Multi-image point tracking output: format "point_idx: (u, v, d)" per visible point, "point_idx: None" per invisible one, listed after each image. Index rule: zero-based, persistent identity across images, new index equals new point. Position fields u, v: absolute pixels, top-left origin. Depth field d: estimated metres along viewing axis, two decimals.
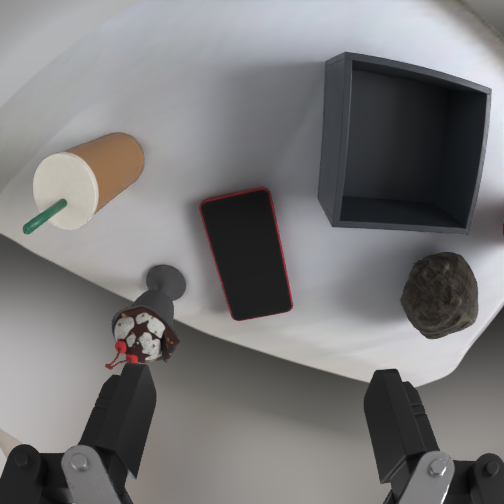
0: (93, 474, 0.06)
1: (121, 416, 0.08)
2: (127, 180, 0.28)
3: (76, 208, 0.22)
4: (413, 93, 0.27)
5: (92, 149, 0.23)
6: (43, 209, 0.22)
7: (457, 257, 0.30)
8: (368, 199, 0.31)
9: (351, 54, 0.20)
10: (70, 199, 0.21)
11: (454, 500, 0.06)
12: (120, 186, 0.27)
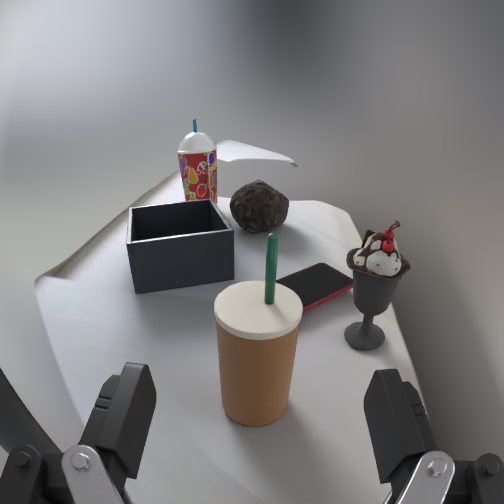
0: (93, 474, 0.06)
1: (121, 416, 0.08)
2: None
3: None
4: None
5: None
6: (288, 319, 0.21)
7: (230, 206, 0.58)
8: None
9: (127, 242, 0.39)
10: (262, 296, 0.23)
11: (454, 500, 0.06)
12: None
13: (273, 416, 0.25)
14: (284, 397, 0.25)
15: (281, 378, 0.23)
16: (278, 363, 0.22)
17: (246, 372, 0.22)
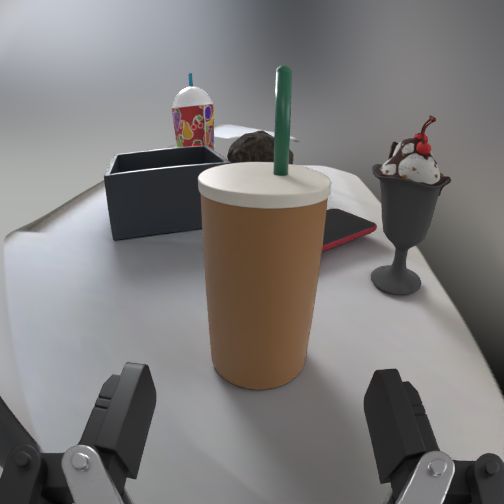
0: (93, 474, 0.06)
1: (121, 416, 0.08)
2: None
3: None
4: None
5: None
6: (311, 186, 0.13)
7: (228, 157, 0.51)
8: None
9: (105, 174, 0.32)
10: (270, 170, 0.16)
11: (454, 500, 0.06)
12: None
13: (287, 372, 0.17)
14: (304, 340, 0.17)
15: (301, 298, 0.15)
16: (298, 264, 0.14)
17: (246, 280, 0.14)
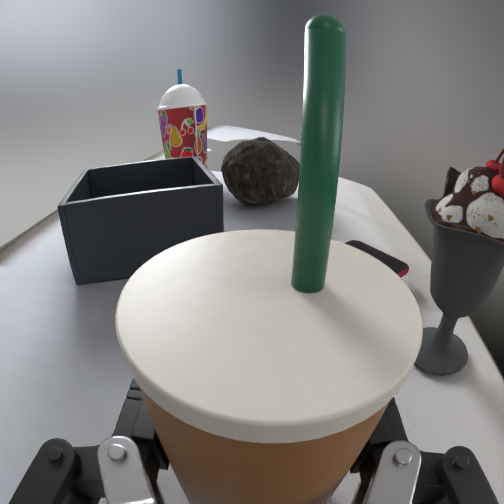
0: (129, 466, 0.06)
1: None
2: None
3: None
4: None
5: None
6: (389, 347, 0.05)
7: (222, 169, 0.42)
8: None
9: (60, 203, 0.23)
10: (283, 267, 0.07)
11: (423, 493, 0.06)
12: None
13: None
14: None
15: (330, 492, 0.07)
16: (334, 475, 0.06)
17: (232, 499, 0.06)
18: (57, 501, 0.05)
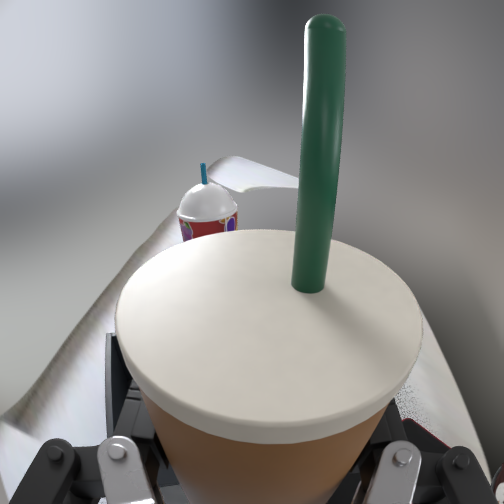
0: (129, 466, 0.06)
1: None
2: None
3: None
4: None
5: None
6: (390, 347, 0.05)
7: None
8: None
9: None
10: (283, 268, 0.07)
11: (423, 493, 0.06)
12: None
13: None
14: None
15: (330, 492, 0.07)
16: (334, 476, 0.06)
17: (232, 500, 0.06)
18: (57, 501, 0.05)
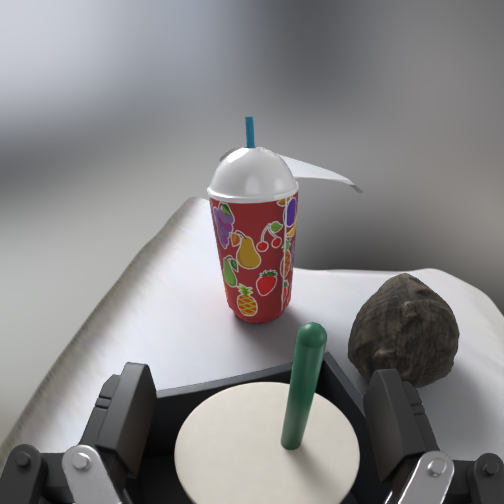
0: (93, 474, 0.06)
1: (121, 416, 0.08)
2: None
3: None
4: None
5: None
6: (333, 488, 0.08)
7: (357, 348, 0.23)
8: None
9: None
10: (276, 427, 0.10)
11: (454, 500, 0.06)
12: None
13: None
14: None
15: None
16: None
17: None
18: None
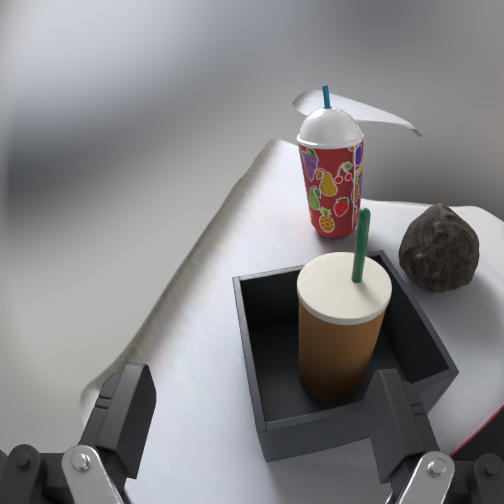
0: (93, 474, 0.06)
1: (121, 416, 0.08)
2: None
3: None
4: (270, 364, 0.29)
5: None
6: (377, 302, 0.18)
7: (403, 253, 0.32)
8: (403, 365, 0.26)
9: (258, 425, 0.17)
10: (349, 272, 0.21)
11: (454, 500, 0.06)
12: None
13: (350, 392, 0.24)
14: (363, 374, 0.23)
15: (363, 358, 0.21)
16: (363, 345, 0.20)
17: (329, 354, 0.20)
18: None
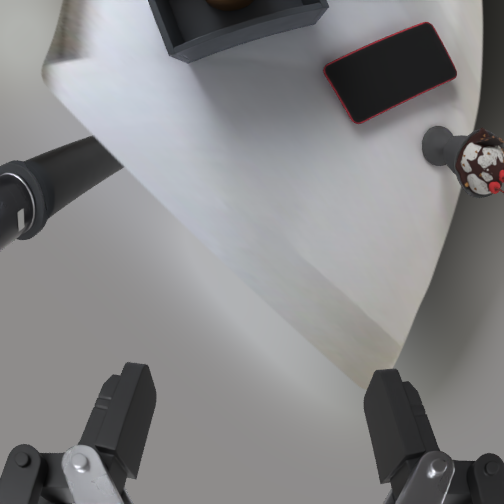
0: (93, 474, 0.06)
1: (121, 416, 0.08)
2: None
3: None
4: None
5: None
6: None
7: None
8: None
9: (169, 50, 0.23)
10: None
11: (454, 500, 0.06)
12: None
13: (245, 4, 0.25)
14: None
15: None
16: None
17: None
18: None
